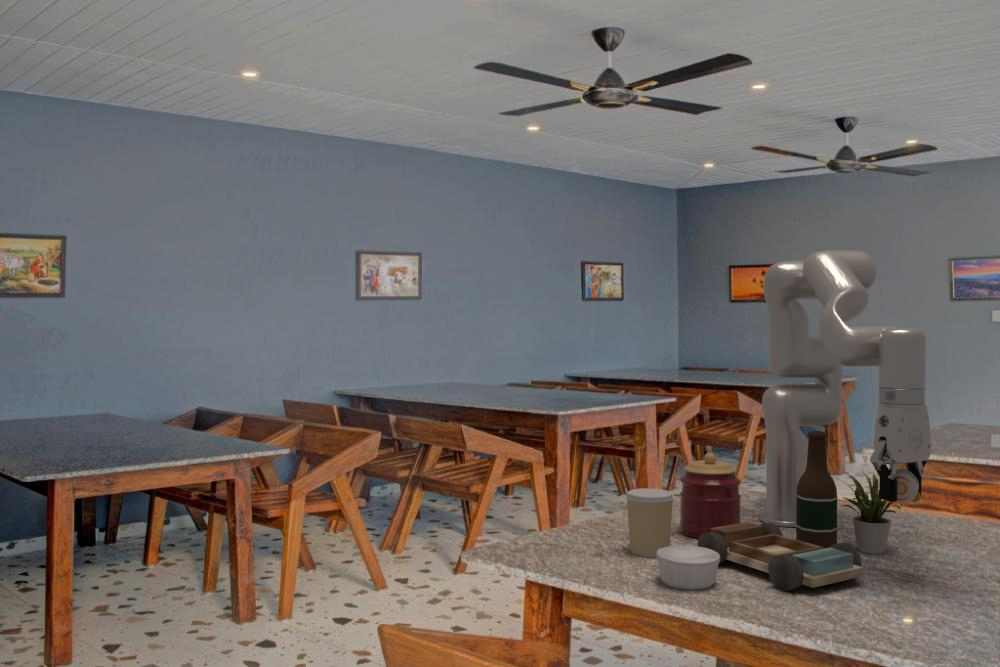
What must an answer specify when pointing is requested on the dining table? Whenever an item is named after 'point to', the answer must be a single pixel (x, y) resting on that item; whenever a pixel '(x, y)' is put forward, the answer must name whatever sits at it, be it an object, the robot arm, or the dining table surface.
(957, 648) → the dining table surface
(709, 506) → the canister
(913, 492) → the roller toy
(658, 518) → the coffee cup
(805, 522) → the beer bottle
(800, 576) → the chassis
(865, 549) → the house plant
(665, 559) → the ramekin
